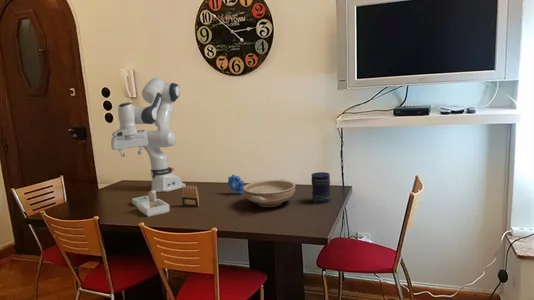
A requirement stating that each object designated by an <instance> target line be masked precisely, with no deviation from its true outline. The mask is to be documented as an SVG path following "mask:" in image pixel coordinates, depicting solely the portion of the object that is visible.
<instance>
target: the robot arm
mask: <svg viewBox="0 0 534 300" xmlns="http://www.w3.org/2000/svg"><path fill="white" fill-rule="evenodd" d="M180 95H181V89H180V86H179V84H178V83H174V82H165V81H164V80H163V79H162V78H160V77H152V78H151V79H149V81H148V82H147V83H145V85H144V87H143V88H142V91H141V97H142V99H143V100H144V101H145V102H146V103H148V104H150V105H148V106H145V107H144V106H141V107H136V106H134V105H133V103H132V102H124V103H123V102H122V103H120V104H119V105H118V107H117V114H118V117H117V118H118V121H119V129H117V130H115V131H113V132H111V136H112V137H111V139H110V141H111V142H110V145H111V150H113V151H117V150H118V152H119V154H120V156H121V158H125V157H126V156H125V153H124V152H122V151H123V150H124V149H126V150H127V149H132V148H139V150H137V155H142V150H143V149H144V150H145V151H146V153H147V155H148V157H149V160H150V161H149V162H150V175H151V179H152V181H151V190H150V191H153V190H154V191H156V193H158V192H160V193H161V192H164V193H165V192H171V191H174V190H179V189H182V185H183V186H184V188H185V185H186V183H185V182H183V181H182V178H181V176H179V175H178V174H176V173H174V170H175V167H170V166H169V159H168V158H169V157H168V154H166V153H165V152H163V151H162V150H161V148H170V147H173V146H174V145H175V144H176V141H177V138H176V134H175V133H174V132H173V131H172V129H171V123H172V117H173V113H174V107H175V106H174V105H175V104H174V103H175V102H176V101H177V100H178V99H179V98H180ZM143 124H144V125H153V124H154V126H155V127H157V129H156V130H146V129H141V130H137V125H143ZM186 186H187V185H186Z"/></svg>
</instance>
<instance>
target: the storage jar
mask: <svg viewBox="0 0 534 300" xmlns="http://www.w3.org/2000/svg"><path fill="white" fill-rule="evenodd" d="M330 185H331V177H330V172H324V171H323V172H314V173H311V186H312V192H311V194H312V203H314V204H317V205H325V204H329V203H330V202H331V201H332V200H331V198H332V197H331V194H332V193H331V188H330V187H331V186H330Z"/></svg>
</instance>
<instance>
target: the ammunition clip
mask: <svg viewBox="0 0 534 300" xmlns="http://www.w3.org/2000/svg"><path fill="white" fill-rule="evenodd" d="M181 191H182V192H181V194H182V196H181V200H182V201H181V202H182V207H190V208H191V207H192V208H199V207H201V202H200V197H199V192H198V186H197V185H195V186H194V185H185V187H184V186H183V185H182V188H181Z"/></svg>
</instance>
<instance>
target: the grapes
mask: <svg viewBox="0 0 534 300" xmlns="http://www.w3.org/2000/svg"><path fill="white" fill-rule="evenodd" d="M241 179H242V178H241V177H240V176H239V175H237V176H236V175H235V174H231V176H228V178H227V180H228V181H227V185H228V186H229V190H230V191H232V192H233V193H234V194H235V195H238V194H240V195H241V194H244V190H243V187H244V186H245V185H244V184H245V181H243V180H241Z"/></svg>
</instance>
